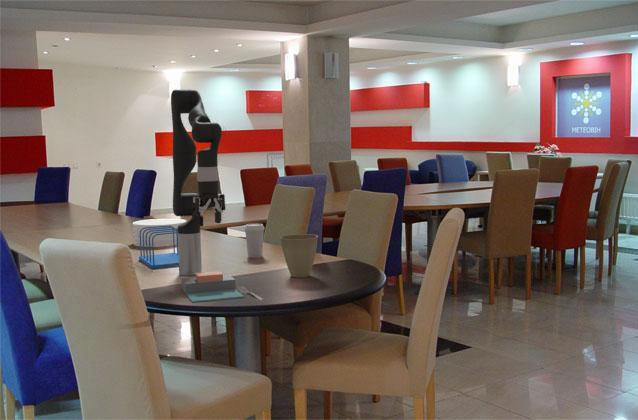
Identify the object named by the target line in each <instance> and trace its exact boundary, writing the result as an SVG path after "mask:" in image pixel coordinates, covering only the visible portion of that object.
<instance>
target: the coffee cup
mask: <svg viewBox="0 0 638 420" xmlns="http://www.w3.org/2000/svg"><path fill="white" fill-rule="evenodd" d="M243 230H244V232H245V240H246V248H247V249H246V250H247V257H248V258H250V259H259V258H262V257H263V248H264V231H265V230H266V229H265V226H264V224H263V223H247V224H245V227H244V228H243Z"/></svg>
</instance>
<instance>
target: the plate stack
mask: <svg viewBox="0 0 638 420" xmlns="http://www.w3.org/2000/svg"><path fill="white" fill-rule="evenodd" d="M186 222H188V221H187V219H183V218H152V219H151V218H150V219H141V220H136V221H133V222H132V226H133V227H132V231H133V232H132V236H133V238H132V240H133V246H135V247H140V230H141V229H142V228H144V227H154V226H167V225H169V226H172V227H174V228H176V229H177V228H178V226H179V225H181V224H184V223H186ZM156 228H162V227H156ZM146 229H151V228H146ZM146 229H143V230H142V231H141V248H143V232H144V231H145V230H146ZM166 229H172V228H166ZM154 230H160V229H154ZM148 231H151V230H147V231H145V233H144V248H146V233H147V232H148ZM164 231H171V230H164ZM153 232H159V231H153ZM153 232H149V233H148V234H147V248H149V236H150V234H151V233H153ZM175 232H176V231H175ZM163 233H171V232H163ZM155 234H160V233H154V234H152V235H151V236H150V247H151V248H152V238H153V236H154V235H155ZM174 241H175V246H177V236H176V233H174ZM153 246H154V248H163V247H164V246H166V247H173V234H163V235H156V236H155V237H154V239H153Z"/></svg>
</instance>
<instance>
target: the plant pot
mask: <svg viewBox="0 0 638 420" xmlns="http://www.w3.org/2000/svg"><path fill="white" fill-rule="evenodd" d="M318 239H319V236H318V235H316V234H310V233H309V234H307V233H304V234H303V233H299V234H298V233H296V234H295V233H294V234H287V235H283V236H280V242H281V248H282V252H283V256H284V260H285V263H286V267H287V269H288V271H289V274H290V276H291V278H308V277H309V276H310V275H311V273H312V269H313V266H314V262H315V257H316V255H317V254H316V253H317V249H318V248H317V246H318Z"/></svg>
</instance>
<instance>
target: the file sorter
mask: <svg viewBox="0 0 638 420" xmlns="http://www.w3.org/2000/svg"><path fill="white" fill-rule="evenodd" d="M156 227H162V228H156ZM146 228H151V229H146ZM166 228H172V229H166ZM143 229H146V230H145V231H147V230H151V231H148V232H147V233H146V247H144V233H145V231H144V232H143V247H141V231H142V230H143ZM154 229H160V230H154ZM164 230H171V231H164ZM153 231H159V232H153ZM175 231H176V232H175ZM149 232H153V233H151V234H150V236H151V235H152V234H154V233H160V234H155V235H154V236H153V238H152V247H150V236H149V247H147V234H148V233H149ZM163 232H171V233H163ZM174 233H176V236H177V245H175V241H174ZM163 234H173V246H172V247H173V252H168V253H160V254H159V253H158V254H155V249H154V248H155V247H154V246H153V239H154V237H155V236H156V235H163ZM175 246H176V247H175ZM151 249H152V250H151ZM175 250H176V251H175ZM139 251H140V255H139V256H138V260H139V261H140V262H141V263H143V264H144V265H146V266H147V267H149V268H150V269H152V270H155V269H165V268H172V267H179V258H178V232H177V229H176V228H174V227H172V226H169V225H167V226H154V227H144V228H142V229H141V230H140V246H139ZM148 251H149V254H148ZM151 252H152V253H151ZM145 254H146V255H145Z"/></svg>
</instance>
